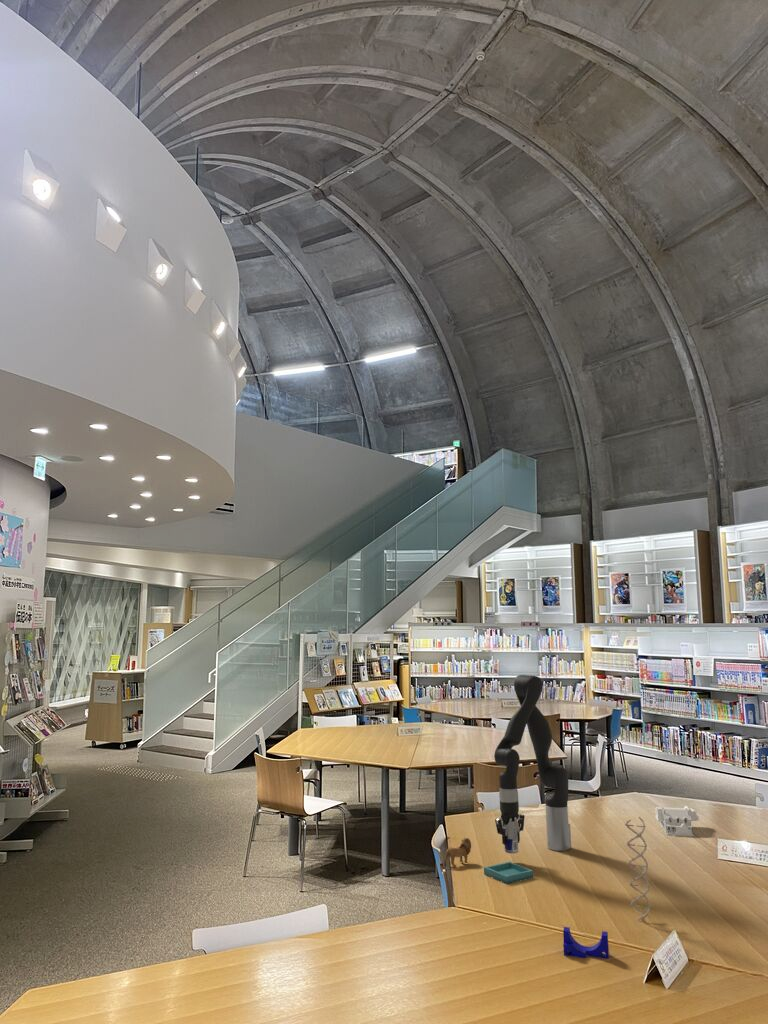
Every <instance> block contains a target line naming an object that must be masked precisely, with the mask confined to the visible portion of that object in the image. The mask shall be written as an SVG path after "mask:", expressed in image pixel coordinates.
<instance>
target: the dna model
mask: <svg viewBox="0 0 768 1024" xmlns="http://www.w3.org/2000/svg"><path fill="white" fill-rule="evenodd" d="M638 819H639V820H640V821H641V823H642V825H636V826H635V825H632V824H629V822H630V823H631V821H632V820H631V819H629V820H627V821H626V822H625V824H624V826H625V827H626V828H628V830H630V831H631V832H632V833H633V834H635V835H636V836H634V837H632V838H631V839H630V840H628V841H627V842H626V846H628V848H629V849H631V850H632V851H633V852H635V853H636V854H637V855H636V856H635V857H633V858H631V859H630V860H628V862H627V865H628V866H629V868H631V869H632V870H634V871H635V872H636V873H638V874H639V875H638V876H637V877H635V878H632V879H631V880H630V881H629V886H630V887H631V888H632V889H634V890H635V891H637V892H638V893H640V896H638V897H637V898H634V899H633V900H632V901H631V902H630V905H631V907H633V908H634V909H636V910H637V911H638V912H640V913H641V914H642V916H640V917H639V918H638V919H636V920H637V921H641V920H643V919H644V918H645V917H647V916H648V915H649V913H650V911H651V907H652V905H651V904H652V903H651V901H650V900H649V898H648V897H647V896H646V895H647V893H648V892H649V889H650V883H649V879H647V877H646V876H645V874H646V873H647V872H648V869H649V864H648V863H649V862H648V861H647V859H646V858H645V856H643V855H644V853H645V852H646V850H647V847H648V845H647V843H646V840H645V839H644V838H643V837H642V835H643V833H644V832H645V830H646V825H645V822H644V820H643V818H641V816H638ZM634 826H635V827H637V828H642V829H641V831H640V832H639V833H638V832H636V830H634V829H633V828H632V827H634ZM638 838H640V839H641V840H642V842H643V844H644V845H639V844H637V847H642V848H643V850H642V851H641V853H640V852H638V850H636V849H635V848H633V847H636V845H635V844H630V843H631V842H633V841H634V840H635V839H638ZM632 846H633V847H632ZM639 858H641V859H643V862H645V865H641V864H640V865H637V864H631V863H632V862H634V861H636V860H637V859H639ZM634 866H638V867H641V868H643V867H644V870H643V871H642V872H640V871H639V870H638V869H637V868H636V867H634ZM641 877H642V878H643V879H644V880H645V881H646V885H647V886H646V885H639V884H632V883H634V882H635V881H636V880H638V879H640V878H641ZM638 886H639V887H642V888H646V889H645V891H644V892H642V891H641V890H639V888H638ZM642 898H645V901H646V902H647V903H648V906H644V905H643V906H641V905H636V904H635V902H637V901H639V900H640V899H642ZM638 907H639V908H638ZM640 908H644V909H647V911H646V912H643V911H642V910H641V909H640Z"/></svg>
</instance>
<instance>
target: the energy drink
mask: <svg viewBox="0 0 768 1024" xmlns="http://www.w3.org/2000/svg"><path fill="white" fill-rule="evenodd" d="M517 822H518V821H517ZM517 822H516V821H512V822H510V823H509V830H508V833H507V836H508V845H507V846H505V845H504V852H505V853H507V854H518V852H519V843H518V834H517ZM504 827H507V825H505V824H504ZM504 832H505V829H504Z"/></svg>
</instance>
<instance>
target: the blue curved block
mask: <svg viewBox="0 0 768 1024" xmlns="http://www.w3.org/2000/svg"><path fill="white" fill-rule="evenodd" d="M562 931H563V932H562V933H563V956H567V957H572V958H573V957H575V958H583V959H587V957H592V958H600V959H606V960H607V959H608V960H609V959H610V951H609V950H610V949H609V936H608V935H609V934H608V933H609V932H608V931H603V930H602V931H601V938H600V939H599V941H598V942H597V943H596V944H594V945H592V946H586V945H583V944H580V943H579V942H578V941H576V940H575V938H574V937H573V936H572V933H571V929H570V927H569V926H563V930H562Z"/></svg>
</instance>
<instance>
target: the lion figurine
mask: <svg viewBox="0 0 768 1024" xmlns="http://www.w3.org/2000/svg"><path fill="white" fill-rule="evenodd" d="M471 849H472V842H471V839H470V838H467V837H464V838H462V839H461V843H460V846H458V847H449V848H447V850H446V852H445V855H444V859H443V867H444V868H445V867H446V866H448V865H447V861H448V860H449V859H450V861H451V865H452V866H453V867H454V866H457V864H455V863H454V862H455V859H456V858H459V863H460V862H463V863H464V864H465V863H468V864H469V862H468V855H470V853H471ZM463 857H464V858H463ZM463 859H464V861H463Z"/></svg>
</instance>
